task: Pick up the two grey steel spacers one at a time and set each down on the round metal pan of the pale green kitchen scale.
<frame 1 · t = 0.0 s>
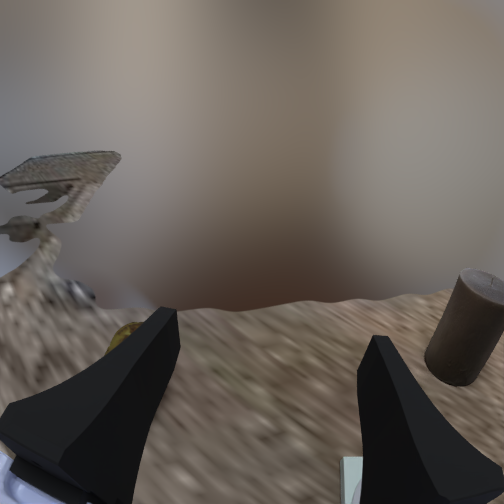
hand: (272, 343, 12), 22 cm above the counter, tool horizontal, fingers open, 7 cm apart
pillar candle: (451, 364, 39), on the counter
potato: (131, 399, 32), on the counter
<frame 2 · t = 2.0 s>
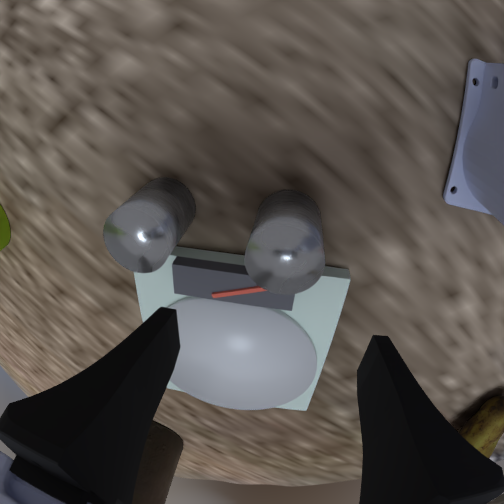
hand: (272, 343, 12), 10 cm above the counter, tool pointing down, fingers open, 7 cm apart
spacer b: (167, 205, 21), on the counter
spacer a: (288, 219, 20), on the counter
scale: (234, 337, 26), on the counter
pillar candle: (151, 432, 40), on the counter
potato: (470, 417, 30), on the counter
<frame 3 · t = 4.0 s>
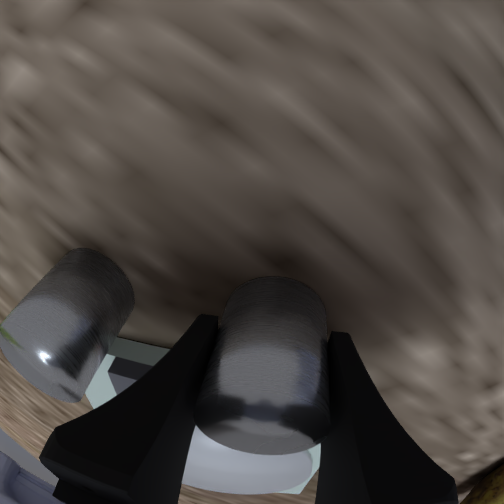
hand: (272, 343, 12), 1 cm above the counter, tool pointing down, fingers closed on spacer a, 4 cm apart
spacer b: (95, 286, 13), on the counter
spacer a: (275, 318, 13), on the counter, touching gripper
scale: (208, 432, 19), on the counter
potato: (483, 475, 23), on the counter
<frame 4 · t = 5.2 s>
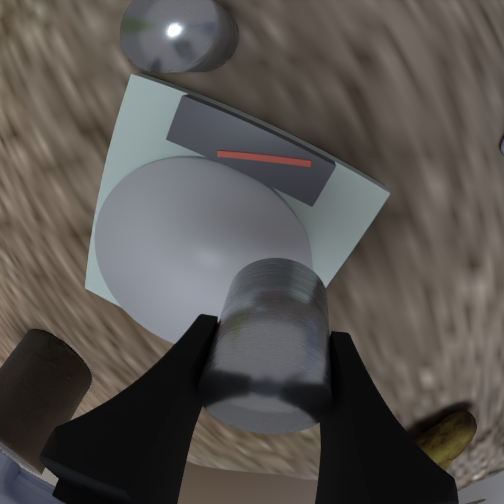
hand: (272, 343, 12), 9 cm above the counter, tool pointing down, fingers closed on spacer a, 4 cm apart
spacer b: (201, 37, 14), on the counter
spacer a: (277, 300, 13), point 7 cm above the counter, touching gripper
scale: (209, 239, 20), on the counter
pillar candle: (58, 358, 32), on the counter
potato: (424, 430, 30), on the counter
when the fingers open (4 cm above the counter, at t = 6.8 s): spacer a stays where it is, resting on scale.
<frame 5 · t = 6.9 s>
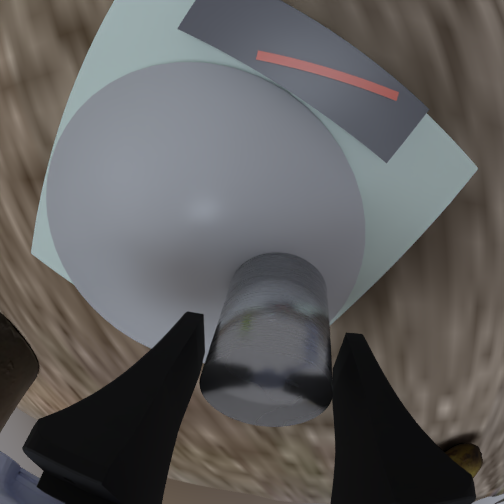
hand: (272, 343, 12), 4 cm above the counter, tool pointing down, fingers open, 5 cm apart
spacer a: (278, 294, 13), point 2 cm above the counter, touching scale
scale: (211, 200, 14), on the counter
pillar candle: (3, 338, 24), on the counter
potato: (420, 461, 25), on the counter
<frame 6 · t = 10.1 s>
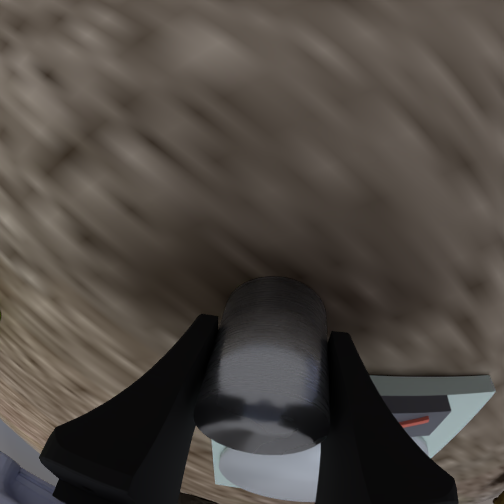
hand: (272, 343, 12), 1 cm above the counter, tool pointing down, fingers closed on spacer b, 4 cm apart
spacer b: (275, 318, 13), on the counter, touching gripper
scale: (330, 446, 18), on the counter
pillar candle: (189, 501, 31), on the counter
when the fingers open (4 cm above the counter, at t = 13.0 s): spacer b stays where it is, resting on scale.
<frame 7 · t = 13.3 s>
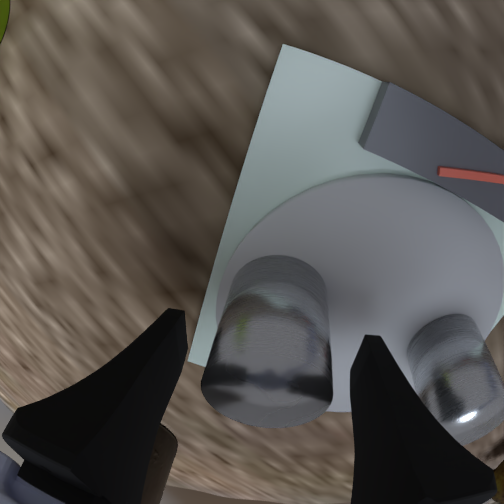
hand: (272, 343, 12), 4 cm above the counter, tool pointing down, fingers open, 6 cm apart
spacer b: (278, 296, 13), point 2 cm above the counter, touching scale
spacer a: (443, 344, 14), point 2 cm above the counter, touching scale
scale: (379, 282, 14), on the counter
pillar candle: (130, 426, 27), on the counter
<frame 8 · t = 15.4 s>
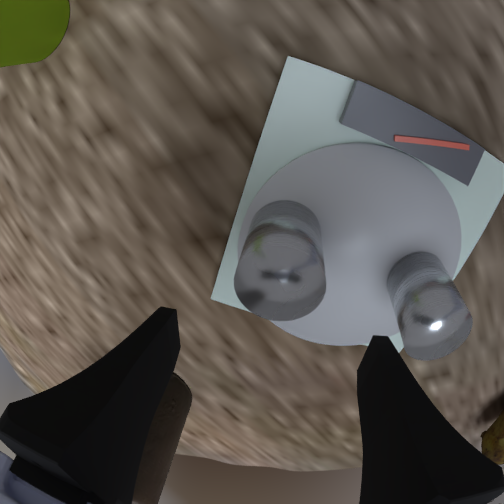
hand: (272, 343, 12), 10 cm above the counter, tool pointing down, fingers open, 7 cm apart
soap dispenser: (46, 23, 14), on the counter
spacer b: (285, 233, 18), point 2 cm above the counter, touching scale
spacer a: (416, 279, 19), point 2 cm above the counter, touching scale
scale: (361, 228, 19), on the counter
pillar candle: (148, 384, 32), on the counter
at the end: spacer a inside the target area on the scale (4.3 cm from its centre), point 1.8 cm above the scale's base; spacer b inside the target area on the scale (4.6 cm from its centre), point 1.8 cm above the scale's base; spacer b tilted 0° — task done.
